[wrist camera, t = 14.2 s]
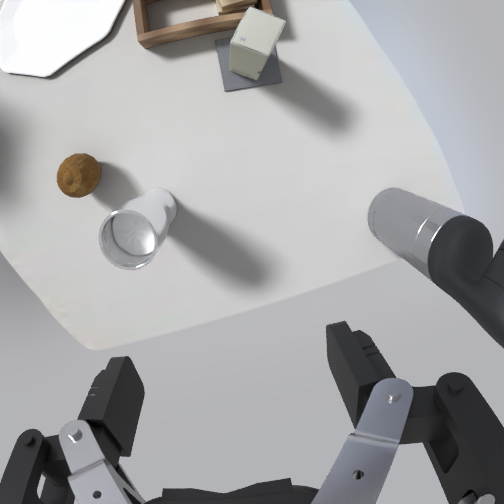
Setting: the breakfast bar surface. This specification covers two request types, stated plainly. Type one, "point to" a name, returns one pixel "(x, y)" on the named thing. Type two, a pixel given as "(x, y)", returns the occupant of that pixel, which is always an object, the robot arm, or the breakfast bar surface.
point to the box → (254, 42)
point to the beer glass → (137, 229)
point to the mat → (238, 81)
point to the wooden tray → (185, 25)
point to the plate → (51, 32)
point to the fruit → (78, 175)
